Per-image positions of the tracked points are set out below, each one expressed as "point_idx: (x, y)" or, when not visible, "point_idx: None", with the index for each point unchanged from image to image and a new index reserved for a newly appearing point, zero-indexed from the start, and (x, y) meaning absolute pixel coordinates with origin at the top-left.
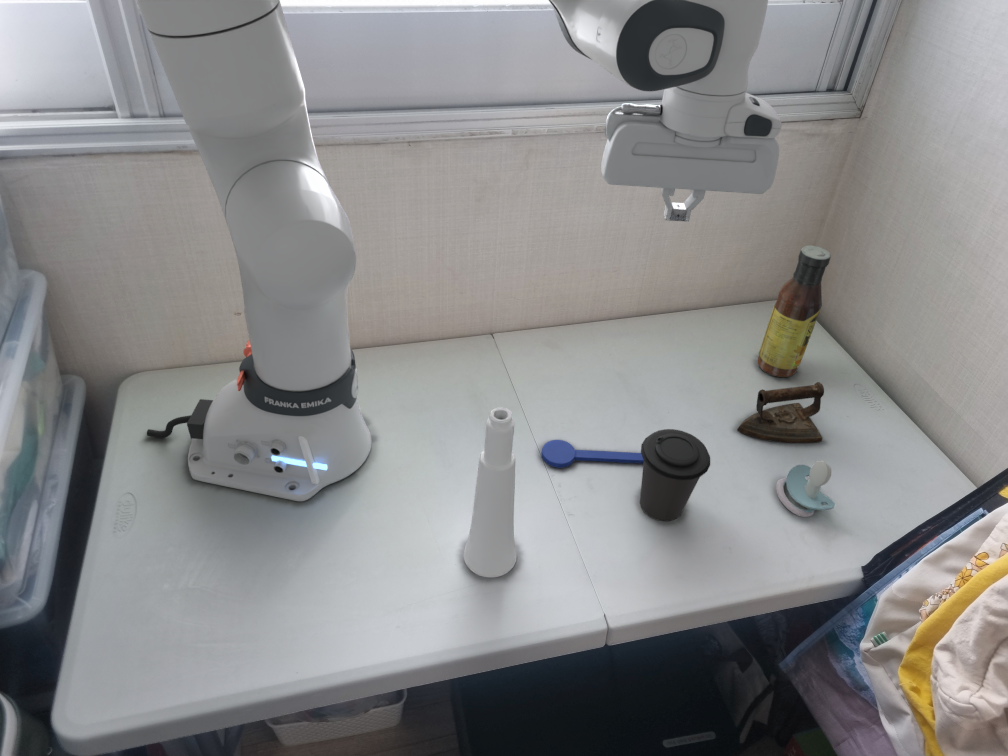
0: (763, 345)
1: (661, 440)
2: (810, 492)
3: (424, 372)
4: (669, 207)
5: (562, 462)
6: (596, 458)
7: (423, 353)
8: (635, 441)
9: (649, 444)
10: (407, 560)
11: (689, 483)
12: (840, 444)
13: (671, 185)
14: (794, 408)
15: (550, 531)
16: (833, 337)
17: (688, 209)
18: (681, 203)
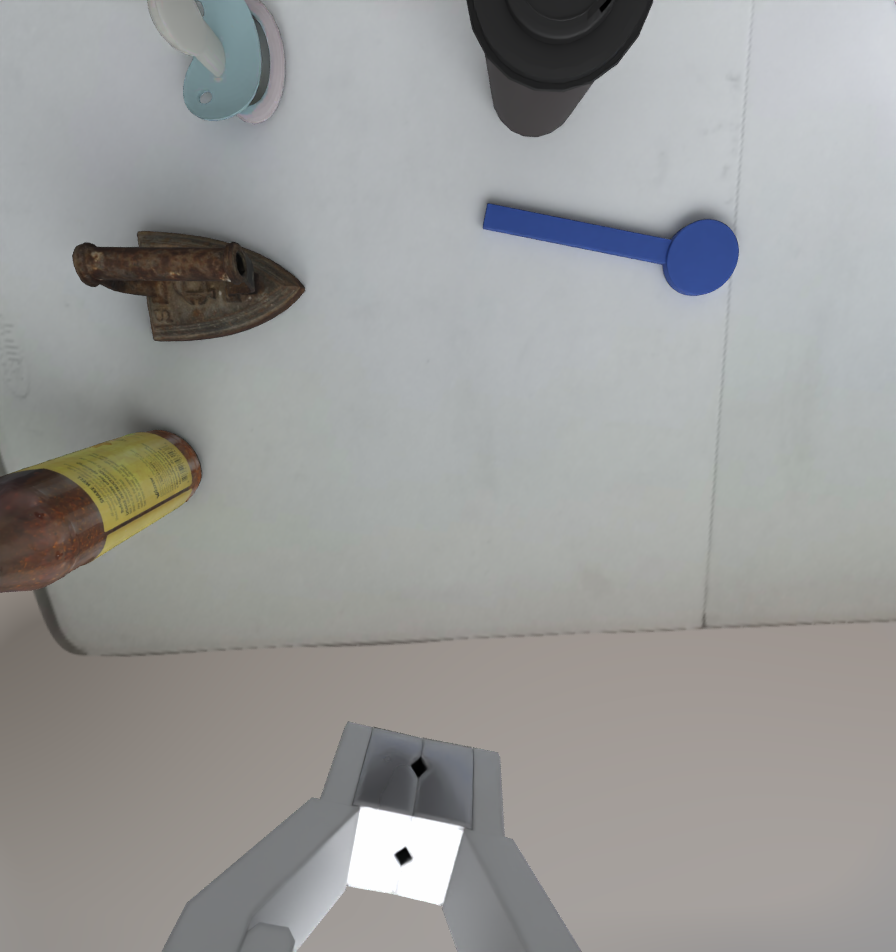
0: (175, 488)
1: (598, 2)
2: (216, 38)
3: (877, 535)
4: (498, 842)
5: (707, 221)
6: (628, 231)
7: (859, 589)
8: (523, 283)
9: (628, 10)
10: None
11: None
12: (106, 223)
13: None
14: (168, 309)
15: (794, 31)
16: None
17: (345, 804)
18: (367, 882)
